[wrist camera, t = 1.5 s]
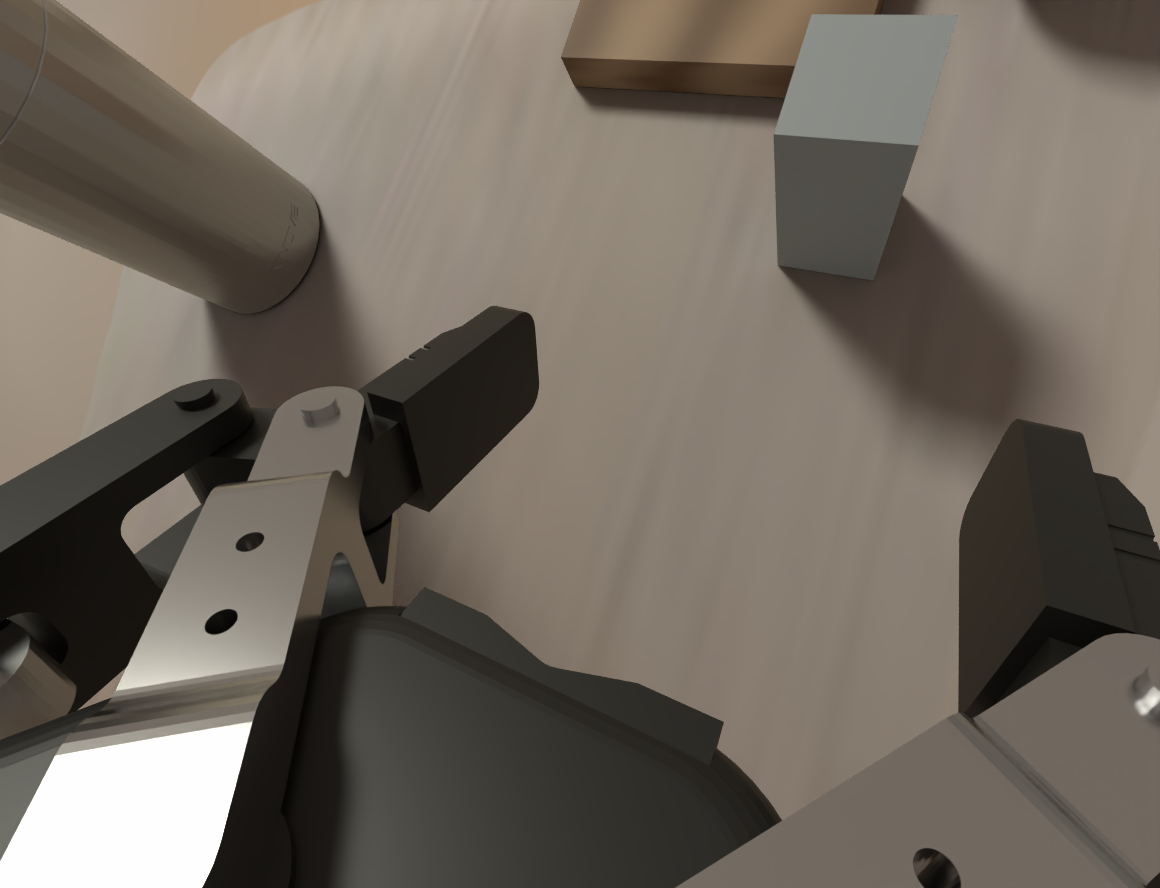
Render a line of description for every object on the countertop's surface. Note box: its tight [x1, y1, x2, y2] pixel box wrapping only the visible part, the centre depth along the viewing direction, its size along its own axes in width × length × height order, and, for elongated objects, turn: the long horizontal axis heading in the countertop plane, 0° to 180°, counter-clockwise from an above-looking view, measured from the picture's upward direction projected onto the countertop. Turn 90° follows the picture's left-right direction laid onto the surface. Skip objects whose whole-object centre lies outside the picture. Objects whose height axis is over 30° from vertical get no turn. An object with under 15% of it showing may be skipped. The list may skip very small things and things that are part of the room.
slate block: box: [774, 14, 958, 281], centre depth 21 cm, size 4×4×9 cm
